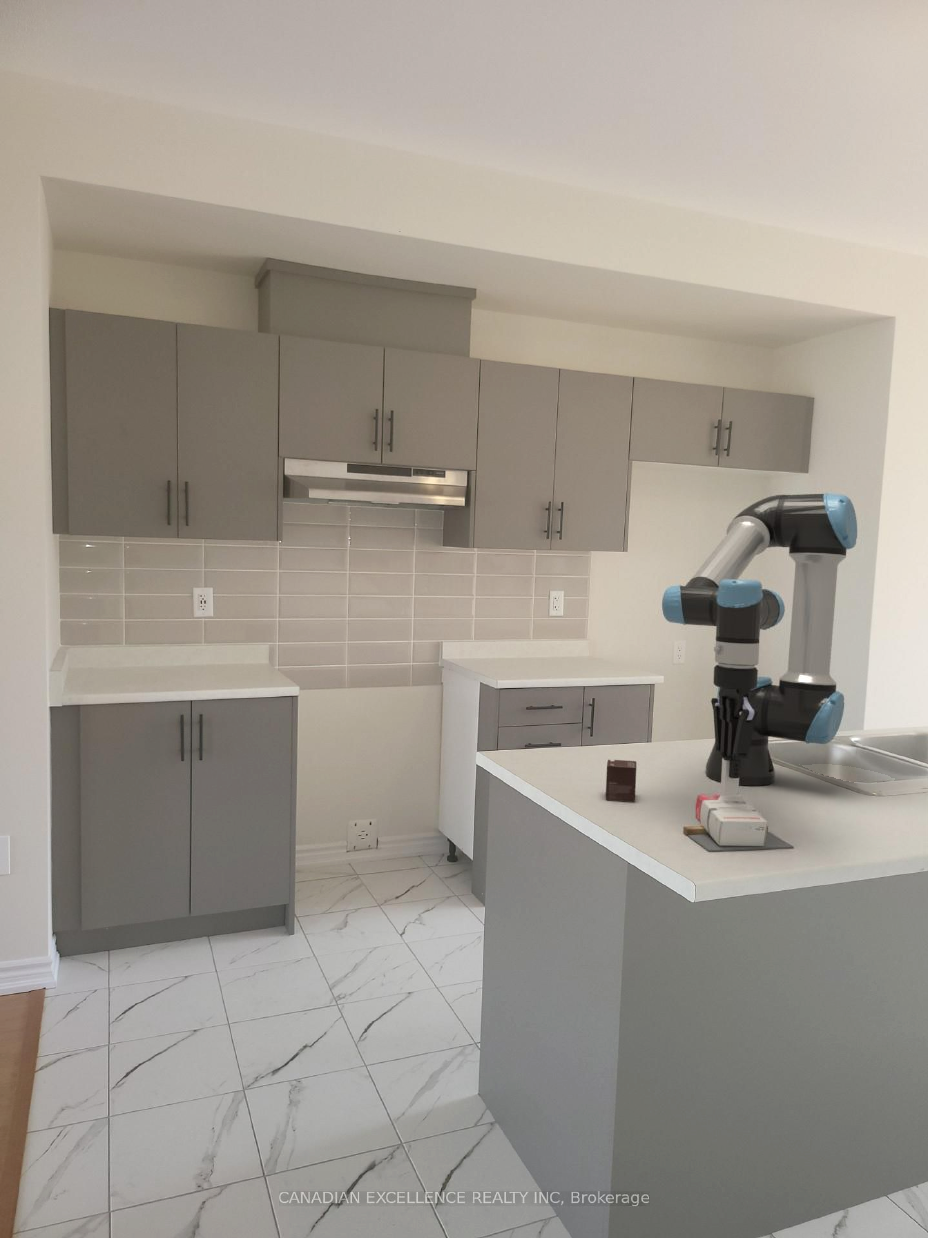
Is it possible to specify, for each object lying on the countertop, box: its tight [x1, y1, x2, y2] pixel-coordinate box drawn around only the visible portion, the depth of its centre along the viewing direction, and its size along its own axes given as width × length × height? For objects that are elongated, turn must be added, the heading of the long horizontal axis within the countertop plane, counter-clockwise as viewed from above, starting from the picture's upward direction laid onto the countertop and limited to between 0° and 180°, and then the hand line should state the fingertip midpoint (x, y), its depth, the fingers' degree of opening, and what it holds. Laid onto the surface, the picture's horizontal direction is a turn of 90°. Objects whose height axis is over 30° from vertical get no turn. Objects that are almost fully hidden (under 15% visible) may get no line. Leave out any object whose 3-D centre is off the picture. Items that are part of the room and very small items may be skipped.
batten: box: [682, 825, 769, 837], centre depth 159 cm, size 16×2×1 cm, turn 101°
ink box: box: [694, 794, 768, 846], centre depth 156 cm, size 9×5×12 cm
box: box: [605, 759, 637, 803], centre depth 180 cm, size 6×6×7 cm
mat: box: [687, 831, 795, 853], centre depth 154 cm, size 16×8×1 cm, turn 101°
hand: (729, 794), depth 158 cm, fingers closed
